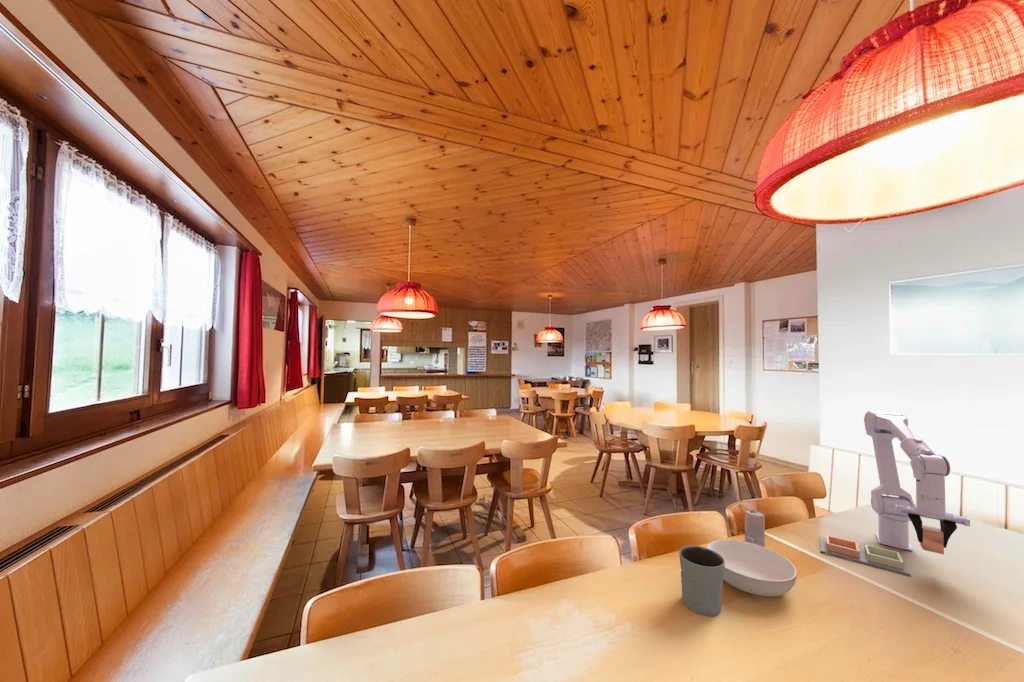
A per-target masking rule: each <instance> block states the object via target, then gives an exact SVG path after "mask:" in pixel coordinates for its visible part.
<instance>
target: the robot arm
mask: <svg viewBox="0 0 1024 682" xmlns="http://www.w3.org/2000/svg"><path fill="white" fill-rule="evenodd" d="M863 422H864V429H865V434H866V435H867V436H869V437H871V438H872V444H873V449H874V457H875V461H876V467H877V468H876V469H877V473H878V479H879V485H878V486H876V487H874V488H873V489H872V490H871V491H870V495H871V496H870V497H871V498H870V504H871V505H870V506H871V507H872V510H873V511H874V512H875V513H876V514H877V515H878V517H877V518H878V532H875V536H876V540H877V543H878V544H880V545H885V546H889V547H893V548H897V549H901V550H905V551H906V550H907V551H911V552H913V550H914V549H913V548H912V546H911V544H910V541H909V540H910V535H909V534H910V533H909V521H910V522H911V524H912V525H913V528H914V530H915V534H916V537H917V541H918V543H920V542H921V543H922V542H923V538H922V525H923V520H922V518H926V519H932V520H937V521H939V526H940V527H939V528H940V529H941V531H942V532H943V536H944V549H946V548H947V546H948V543H949V540H950V538H951V537H952V536H953V534H954V533H955V532H956V530H957V529H958V525H963V526H965V527H969V528H970V527H971V520H970V518H969V517H967V516H966V517H965V516H961V515H958V514H953V513H949V512H946V511H947V510H946V479H945V478H946V477H948V476H949V475H950V473H951V465H950V462H949V460H948V458H947V457H946V456H944V455H943V454H939V453H935V452H934V451H933V450H932V449H931V447H929V445H927V443H926V442H925V441H924V440H923V439H922V438H920V437H915V435H914V434H913V433H912V432H911V430H910V429H909V427H908V426H909V419H908V417H907V416H906V415H905V414H904V413H903V412H892V411H891V412H887V411H874V410H873V411H872V410H867V411H866V412H865V415H864V417H863ZM894 439H898V440H899V441H900V448H901V450H902V451H903V452H904V453H905V454H906V456H907V457H908V459H910V467H911V469H912V475H913V477H914V478H915V492H916V493H915V495H916V496H915V499H916V500H915V501H916V503H914V500H913V497H912V494H911V493H909V492H907V491H906V490H905V489H903V488H902V487H901V484H900V479H899V474H898V468H897V462H896V457H895V453H894V452H895V451H894V447H893V440H894ZM957 524H958V525H957Z"/></svg>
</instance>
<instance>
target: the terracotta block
mask: <svg viewBox="0 0 1024 682" xmlns="http://www.w3.org/2000/svg"><path fill="white" fill-rule="evenodd" d="M922 538H923V542H922V543H921V542H919V545H920V547H921V548H922V551H927V552H931V553H935V554H939V555H945V548H944V536H943V532H942V531H941V527H935V526H930V525H927V524H922Z"/></svg>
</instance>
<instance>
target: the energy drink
mask: <svg viewBox="0 0 1024 682" xmlns="http://www.w3.org/2000/svg"><path fill="white" fill-rule="evenodd" d="M765 520H766V519H765V514H764V513H763V512H761V511H759V510H756V509H746V510H745V512H744V542H749V543H753V544H756V545H759V546H762V547H765V548H766V544H765V543H766V542H765V541H766V538H765V537H766V533H765V532H766V530H765V529H766V525H765V523H766V522H765Z"/></svg>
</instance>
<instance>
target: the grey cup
mask: <svg viewBox="0 0 1024 682" xmlns="http://www.w3.org/2000/svg"><path fill="white" fill-rule="evenodd" d="M678 553H679V555H678V557H679V564H680V579H681V581H680V583H681V597H682V602H683V604H684V605H685V607H687V609H689V610H690V611H692V612H693V613H695V614H698V615H701V616H705V617H716V616H719V615H720V614H721V612H722V604H723V603H722V602H723V599H722V594H723V587H724V586H723V585H724V580H723V573H724V565H725V560H724V558H723V557H722V556H721V555H720V554H718V553H717V552H715V551H713V550H710V549H708V548H707V547H705V546H699V545H686V546H683V547H681V548H680V549H679V551H678Z"/></svg>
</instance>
